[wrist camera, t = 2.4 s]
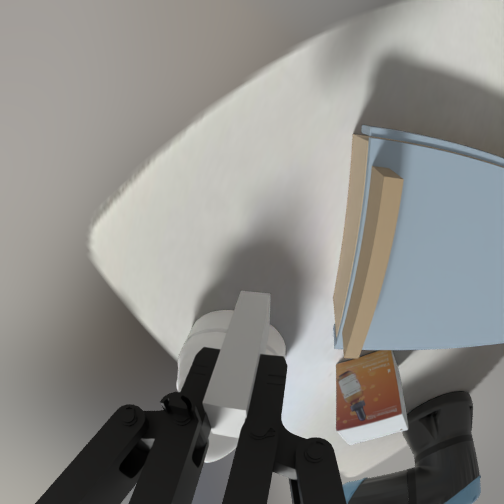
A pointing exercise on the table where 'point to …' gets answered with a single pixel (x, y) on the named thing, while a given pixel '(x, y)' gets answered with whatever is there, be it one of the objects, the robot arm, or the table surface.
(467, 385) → the table surface
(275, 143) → the table surface
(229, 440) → the honey pot
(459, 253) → the lid
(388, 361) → the small box
